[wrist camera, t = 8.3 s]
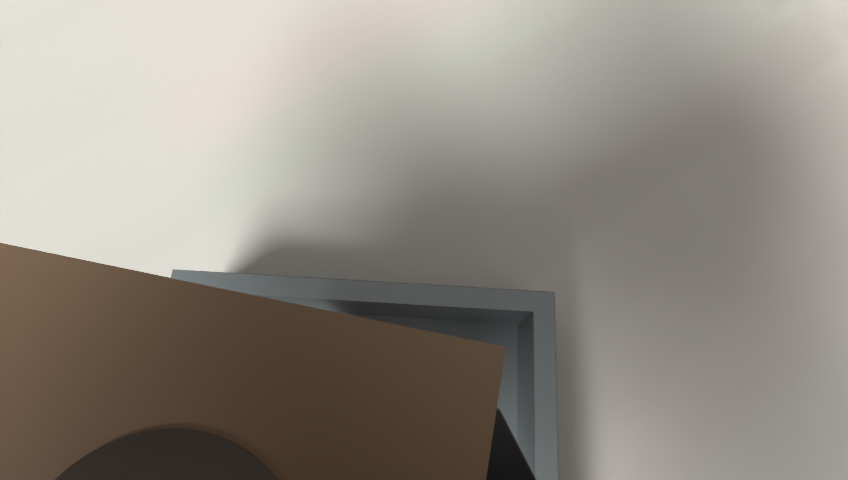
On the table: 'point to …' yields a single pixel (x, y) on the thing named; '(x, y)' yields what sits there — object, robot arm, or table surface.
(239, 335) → the block
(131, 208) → the table surface
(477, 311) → the tray
